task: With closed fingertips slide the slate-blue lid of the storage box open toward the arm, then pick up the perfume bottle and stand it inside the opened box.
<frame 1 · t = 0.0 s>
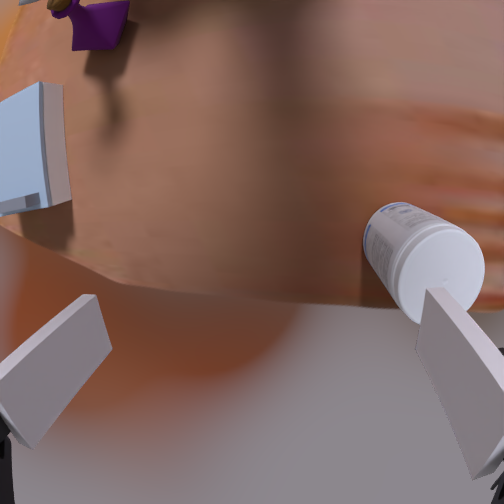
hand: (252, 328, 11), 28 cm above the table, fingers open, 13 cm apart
lid: (8, 153, 33), point 7 cm above the table, slide at 0.0 cm
storage box: (37, 150, 39), on the table
supplement tub: (396, 236, 37), on the table
perfume bottle: (111, 32, 33), on the table
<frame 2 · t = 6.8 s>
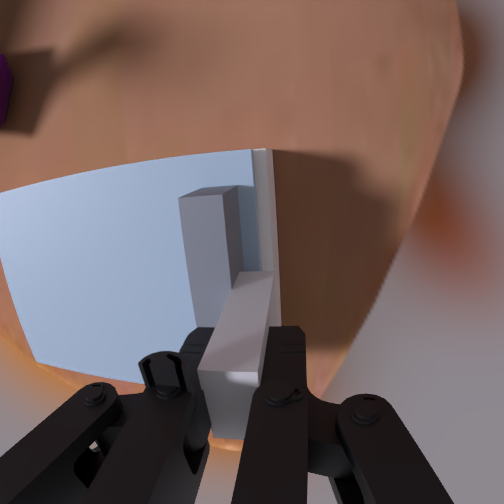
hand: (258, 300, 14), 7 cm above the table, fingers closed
lid: (89, 299, 15), point 7 cm above the table, slide at 0.6 cm, touching gripper
storage box: (147, 257, 21), on the table
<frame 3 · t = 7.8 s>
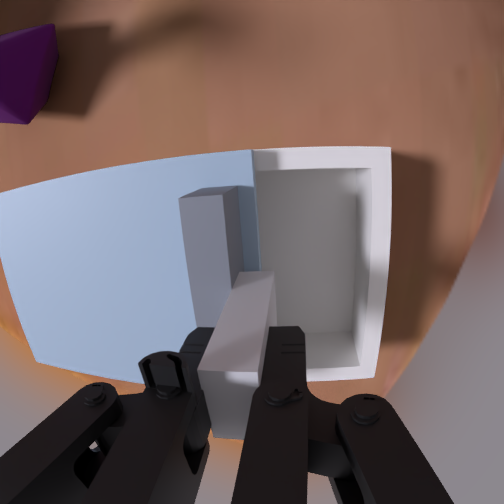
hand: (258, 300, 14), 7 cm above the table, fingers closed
lid: (89, 299, 15), point 7 cm above the table, slide at 6.4 cm, touching gripper
storage box: (228, 255, 20), on the table
perfume bottle: (38, 78, 18), on the table
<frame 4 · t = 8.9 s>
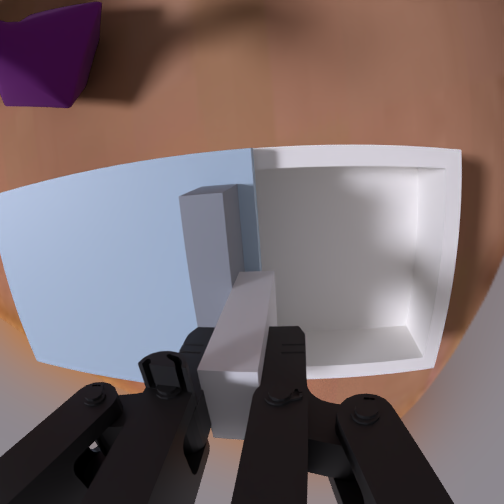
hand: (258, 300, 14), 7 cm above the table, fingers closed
lid: (90, 297, 15), point 7 cm above the table, slide at 10.5 cm, touching gripper
storage box: (292, 252, 20), on the table
perfume bottle: (74, 62, 18), on the table
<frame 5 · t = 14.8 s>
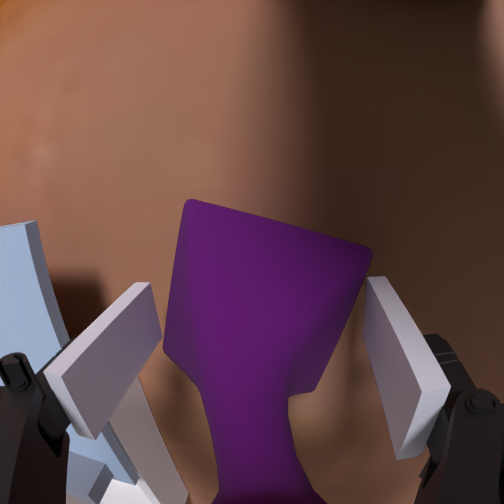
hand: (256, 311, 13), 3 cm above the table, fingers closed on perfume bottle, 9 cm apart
lid: (0, 384, 13), point 7 cm above the table, slide at 10.8 cm
storage box: (101, 430, 23), on the table
perfume bottle: (264, 276, 16), on the table, touching gripper
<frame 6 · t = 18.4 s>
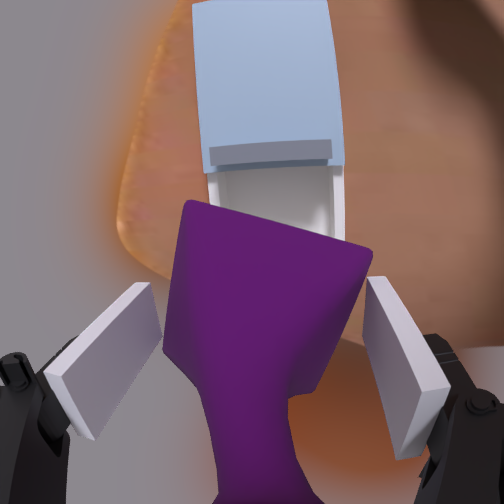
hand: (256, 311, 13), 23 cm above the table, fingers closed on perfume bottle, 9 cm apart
lid: (264, 69, 24), point 7 cm above the table, slide at 10.8 cm
storage box: (277, 181, 34), on the table
perfume bottle: (264, 277, 16), point 20 cm above the table, touching gripper
when the fingers open (6 cm above the table, at t = 22.0 s): perfume bottle drops 2 cm, resting on storage box.
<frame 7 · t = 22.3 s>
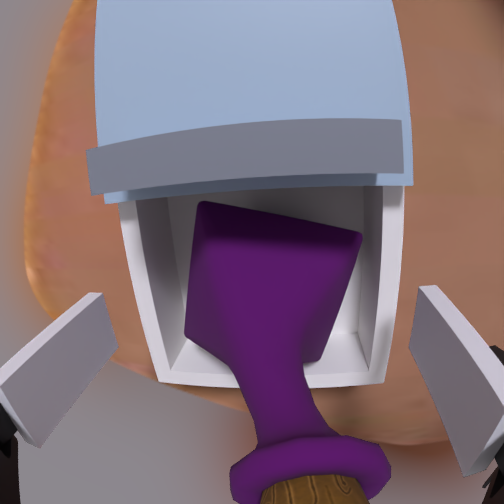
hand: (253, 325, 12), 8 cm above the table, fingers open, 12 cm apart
storage box: (264, 208, 18), on the table
perfume bottle: (268, 261, 18), point 1 cm above the table, touching storage box
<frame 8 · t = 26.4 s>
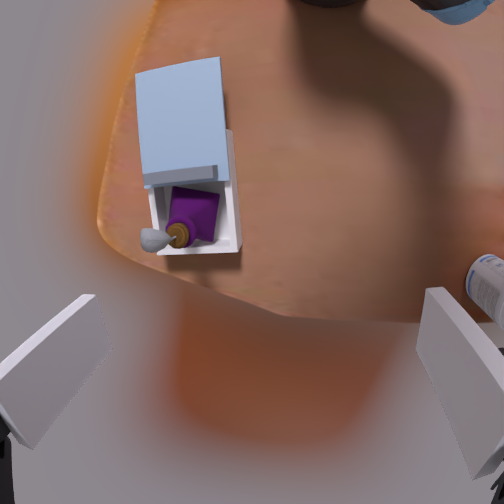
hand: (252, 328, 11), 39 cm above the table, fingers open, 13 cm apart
lid: (176, 121, 40), point 7 cm above the table, slide at 10.8 cm
storage box: (197, 191, 50), on the table
supplement tub: (482, 275, 48), on the table
perfume bottle: (198, 209, 50), resting on storage box
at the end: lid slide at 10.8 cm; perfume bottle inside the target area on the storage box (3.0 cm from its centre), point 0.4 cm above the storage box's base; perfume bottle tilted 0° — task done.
